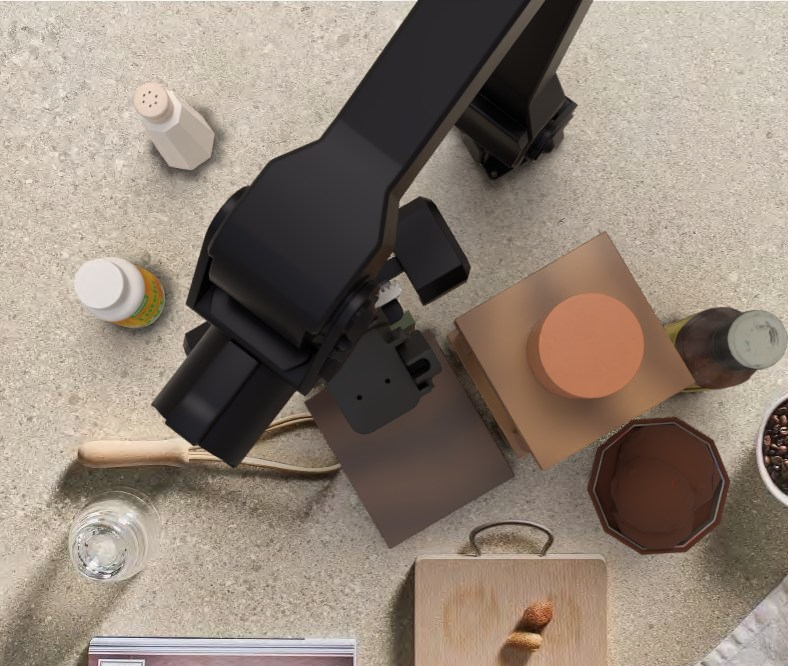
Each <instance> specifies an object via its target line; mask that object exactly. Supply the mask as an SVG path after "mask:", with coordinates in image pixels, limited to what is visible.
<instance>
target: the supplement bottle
mask: <svg viewBox="0 0 788 666" xmlns="http://www.w3.org/2000/svg"><path fill="white" fill-rule="evenodd" d="M73 289H74V293H75V296H76V297H77V299H78V300H79V301H80V302H81V304H82V306H83V308H84V309H85V311H87V312H88V313H89V314H90V316H93V317H94V318H96V319H99V320H100V321H104V322H106V323H110V324H114V325H119V326H121V327H125V328H130V329H139V328H144V327H147V326H149V325H151V324H153V323H154V322H155V321H157V319H158V318H159V317H160V316H161V314H162V313H163V310H164V307H165V303H166V294H165V289H164V287H163V285H162V283H161V281H160V280H159V279H158V278H157V276H155V275H154V274H153V273H151V272H150V271H148V270H146V269H144V268H143V267H140V266H139V265H136V264H134V263H133V262H132V261H129V260H128V259H125V258H122V257H119V256H111V255H110V256H104V257H99V258H95V259H91V260H89V261H86V262H85V263H83V264H82V265H81V266H80V267H79V268H78V270H77V271H76V273H75V276H74V280H73Z"/></svg>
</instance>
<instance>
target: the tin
mask: <svg viewBox="0 0 788 666" xmlns="http://www.w3.org/2000/svg"><path fill="white" fill-rule="evenodd" d="M643 354H644V337H643V332H642V329H641V326H640V324H639V322H638V320H637V318H636V317H635V315H634V314H633V312H632V311H631V310H630V309H629V308H628V307H627V306H626V305H624V304H623V303H622V302H620V301H619V300H617V299H615V298H613V297H611V296H608V295H605V294H600V293H582V294H578V295H574V296H572V297H569V298H567V299H565V300H564V301H562V302H561V303H559V304H558V305H556V306H555V307H553V308H552V309H550V310H549V311H547V312H546V313H545V314H544V315H542V316H541V317H540V318H539V320H538V321H537V322H536V323H535V325H534V326H533V328H532V330H531V332H530V335H529V338H528V343H527V358H528V363H529V366H530V369H531V371H532V373H533V375H534V377H535V378H536V380H537V381H538V382H539V383H540V384H541V385H542V386H543V387H544V388H545V389H547V390H548V391H550V392H551V393H553V394H555V395H557V396H560V397H564V398H569V399H587V398H600V397H605V396H608V395H611V394H613V393H615V392H617V391H619V390H620V389H622V388H623V387H625V386H626V385H627V384H628V383H629V382H630V381H631V380H632V379H633V377H634V376H635V374H636V373H637V371H638V369H639V367H640V365H641V362H642V359H643Z"/></svg>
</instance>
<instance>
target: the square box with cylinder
mask: <svg viewBox="0 0 788 666" xmlns="http://www.w3.org/2000/svg"><path fill="white" fill-rule="evenodd" d="M582 293H600V294H605V295H608V296H611V297H613V298H615V299H617V300H619V301H620V302H622V303H623V304H624V305H626V306H627V307H628V308H629V309H630V310H631V311H632V312H633V314H634V315H635V317H636V318H637V320H638V322H639V324H640V326H641V329H642V332H643V337H644V354H643V359H642V362H641V365H640V367H639V369H638V371H637V373H636V374H635V376H634V377H633V379H632V380H631V381H630V382H629V383H628V384H627V385H626V386H625V387H623V388H622V389H620V390H619V391H617V392H615V393H613V394H611V395H608V396H605V397H600V398H587V399H569V398H564V397H560V396H557V395H555V394H553V393H551V392H550V391H548V390H547V389H545V388H544V387H543V386H542V385H541V384H540V383H539V382H538V381H537V380H536V378H535V377H534V375H533V373H532V371H531V369H530V366H529V363H528V358H527V343H528V338H529V335H530V332H531V330H532V328H533V326H534V325H535V323H536V322H537V321H538V320H539V318H540V317H541V316H542V315H544V314H545V313H546V312H547V311H549V310H550V309H552V308H553V307H555V306H556V305H558V304H559V303H561V302H562V301H564V300H565V299H567V298H569V297H572V296H574V295H578V294H582ZM453 324H454V326H455V328H456V329H454V330H453V331H450V332H449V333H447V334H446V336H445V337H446V339H447V341H448V343H449V344H450V345H449V347H448V349H449V350H450V352H451V354H452V355H453V357H454V359H455V361H456V362H457V363H461V365H462V367H463V368H464V369H465V371H466V373H467V375H468V377H469V378H470V380H471V382H472V383H473V385H474V387H475V389H476V390H477V391H478V394H479V395H480V397H481V399H482V401H483V402H484V404H485V406H486V407H487V409H488V411H489V413H490V414H491V416H492V417H493V419H494V421H495V422H496V424H497V426H498V427H496V430H497V432H498V433H499V435H500V438H501V439H502V440H503V443H504V444H505V445H508V446H510V448H511V450H512V452H513V454H514V456H515V457H516V458H517V459H518V460H521V459H523V458H525V457H527V456H529V455H531V457H532V459H533V461H534V462H535V464H536V466H537V467H538V469H539V470H541V471H542V472H545V471H547V470H549V469H550V468H552V467H554V466H555V465H557V464H559V463H561V462H562V461H564V460H565V459H567V458H569V457H571V456H573V455H575V454H577V452H579V451H581V450H583V449H585V448H586V447H588V446H589V445H591V444H594V442H596V441H598V440H600V439H602V438H603V437H605V436H607V435H608V434H610V433H612V432H613V431H615V430H617V429H620V428H621V427H623V426H625V425H626V424H627V423H628V422H630V421H631V420H634V419H637V417H639V416H641V415H643V414H644V413H646V412H648V411H649V410H651V409H653V408H655V407H657V406H658V405H660V404H662V403H663V402H666V401H667V400H668V399H671V398H672V397H673V396H675V395H677V394H679V393H680V391H682V390H684V389H685V388H687V387H689V386H691V385H692V384H694V383H695V380H694V378H693V376H692V375H691V373H690V371H689V370H688V368H687V366H686V365H685V363H684V361H683V360H682V358H681V356H680V355H679V353H678V351H677V350H676V348H675V346H674V344H673V343H672V341H671V339H670V338H669V336H668V334H667V333H666V331H665V329H664V326H663V324H662V323H661V322H660V318H659V317H658V316H657V314H656V313H655V310H654V309H653V308H652V306H651V304H650V303H649V301H648V299H647V297H646V296H645V294H644V292H643V291H642V289H641V287H640V286H639V284H638V282H637V281H636V279H635V277H634V275H633V274H632V272H631V271H630V268H629V267H628V265H627V264H626V261H625V260H624V258H623V257H622V255H621V254H620V252H619V250H618V249H617V247H616V245H615V243H614V242H613V240H612V238H611V237H610V235H609V233H608V231H605V230H604V231H603V232H601V233H599V234H598V235H596V236H594V237H592V238H591V239H589V240H587V241H585V242H584V243H582V244H581V245H579V246H577V247H576V248H574V249H572V250H570V251H569V252H566V253H565V254H563V255H562V256H560V257H558V258H557V259H555V260H553V261H551V262H550V263H548V264H547V265H545V266H543V267H542V268H540V269H537V270H536V271H534V272H533V273H531V274H530V275H528V276H525V278H523V279H521V280H519V281H517V282H516V283H514V284H512V285H511V286H509V287H507V288H505V289H504V290H502V291H501V292H499V293H497V294H495V295H494V296H492V297H491V298H488V299H487V300H485V301H483V302H481V303H480V304H478V305H477V306H475V307H474V308H471V309H470V310H468V311H466V312H464V313H463V314H461V315H460V316H458V317H456V318H455V319H454V320H453Z"/></svg>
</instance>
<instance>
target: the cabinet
mask: <svg viewBox="0 0 788 666" xmlns="http://www.w3.org/2000/svg"><path fill="white" fill-rule="evenodd" d="M421 333H422V335H423V336H424V338H425V339H426V341H427V342H428V344H429V345H430V347H431V348H432V350H433V352H434V354H435V355H436V357H437V359H438V361H439V362H440V364H441V366H442V372H441V373H439V374H437V375H436V376H434V377H433V378H432V382H433V384H434V386H435V387H434V388H433V389H431V390H432V391H431V392H429V393H427V394H426V395H424V396H422V397H420V400H419V402H418V404H417V406H416V407H415V408H413V409H412V410H410V411H409V412H407V413H405V414H403V415H402V416H400V417H398V418H397V419H395V420H393V421H391V422H390V423H388V424H386V425H385V426H383V427H381V428H379V429H378V430H376V431H374V432H372V433H370V434H365V435H363V434H358V433H356V432H355V431H354V430H353V429H352V428H351V427H350V425H349V423H348V422H347V420H346V419H345V417H344V415H343V414H342V412H341V410H340V409H339V407H338V406H337V404H336V402H335V401H334V399H333V397H332V396H331V394H330V393H329V391H328V389H327V388H325V389H323V390H321V391H320V392H318V393H317V394H315V395H313V396H311V397H309V398H308V399H306V400H304V401H303V404H304V405H305V407H306V409H307V411H308V412H309V414H310V415H311V418H312V419H313V421H314V423H315V424H316V427H318V430H319V431H320V432H321V435H322V436H323V438H324V440H325V442H326V443H327V444H328V447H329V448H330V450H331V452H332V453H333V455H334V456H335V458H336V460H337V462H338V463H339V466H340V467H341V469H342V471H343V472H344V474H345V476H346V477H347V479H348V481H349V483H350V484H351V486H352V488H353V490H354V491H355V493H356V495H357V496H358V498H359V500H360V501H361V503H362V505H363V506H364V508H365V509H366V512H367V513H368V515H369V517H370V518H371V520H372V522H373V523H374V525H375V527H376V529H377V530H378V532H379V534H380V535H381V537H382V539H383V541H384V542H385V544H386V546H387V547H388V549H389V550H391V549H393V548H395V547H396V546H398V545H400V544H402V543H404V542H405V541H407V540H409V539H410V538H412V537H413V536H415V535H417V534H419V533H420V532H422V531H424V530H425V529H427V528H430V527H431V526H432V525H434V524H436V523H438V522H439V521H441V520H442V519H443V520H444V518H446V517H449V515H451V514H453V513H455V512H456V511H458V510H460V509H462V508H463V507H465V506H467V505H468V504H470V503H472V502H474V501H475V500H477V499H479V498H480V497H482V496H484V495H486V494H487V493H489V492H490V491H493V490H494V489H495V488H497V487H499V486H501V485H503V484H504V483H507V482H509V480H511V479H513V478H514V477H516V473H515V472H514V470H513V468H512V467H511V465H510V464H509V462H508V460H507V459H506V457H505V455H504V454H503V452H502V450H501V448H500V447H499V445H498V444H497V442H496V440H495V439H494V436H493V435H492V433H491V431H490V430H489V428H488V426H487V424H486V423H485V422H484V421H485V420H484V419H483V418H482V416H481V414H480V413H479V411H478V410H477V408H476V406H475V404H474V402H473V401H472V400H471V397H470V396H469V394H468V393H467V391H466V389H465V387H464V385H463V384H462V382H461V381H460V379H459V377H458V375H457V374H456V372H455V370H454V369H453V367H452V365H451V363H450V362H449V359H448V358H447V357H446V355H445V353H444V352H443V350H442V348H441V347H440V345H439V343H438V341H437V340H436V338H435V336H434V335H433V332H432V331H431V329H430V328H428V329H427V328H426V329H425V330H424V331H422V332H421ZM414 382H415V381H414Z"/></svg>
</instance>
